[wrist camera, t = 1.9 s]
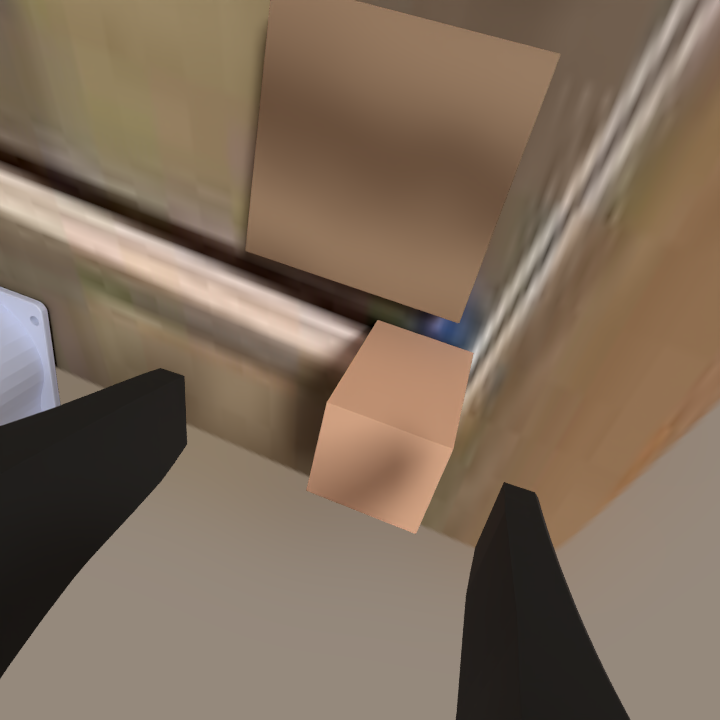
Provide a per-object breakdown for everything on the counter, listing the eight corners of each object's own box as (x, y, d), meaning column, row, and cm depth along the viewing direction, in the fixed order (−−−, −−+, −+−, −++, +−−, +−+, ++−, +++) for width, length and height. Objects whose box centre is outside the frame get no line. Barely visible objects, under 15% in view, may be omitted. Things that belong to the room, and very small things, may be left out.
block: (442, 428, 22) (415, 534, 17) (356, 396, 23) (306, 490, 18) (473, 352, 20) (453, 448, 15) (377, 319, 20) (327, 402, 15)
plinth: (465, 300, 19) (458, 323, 17) (269, 235, 20) (245, 250, 18) (557, 55, 14) (560, 54, 13) (300, -12, 15) (272, -22, 14)
